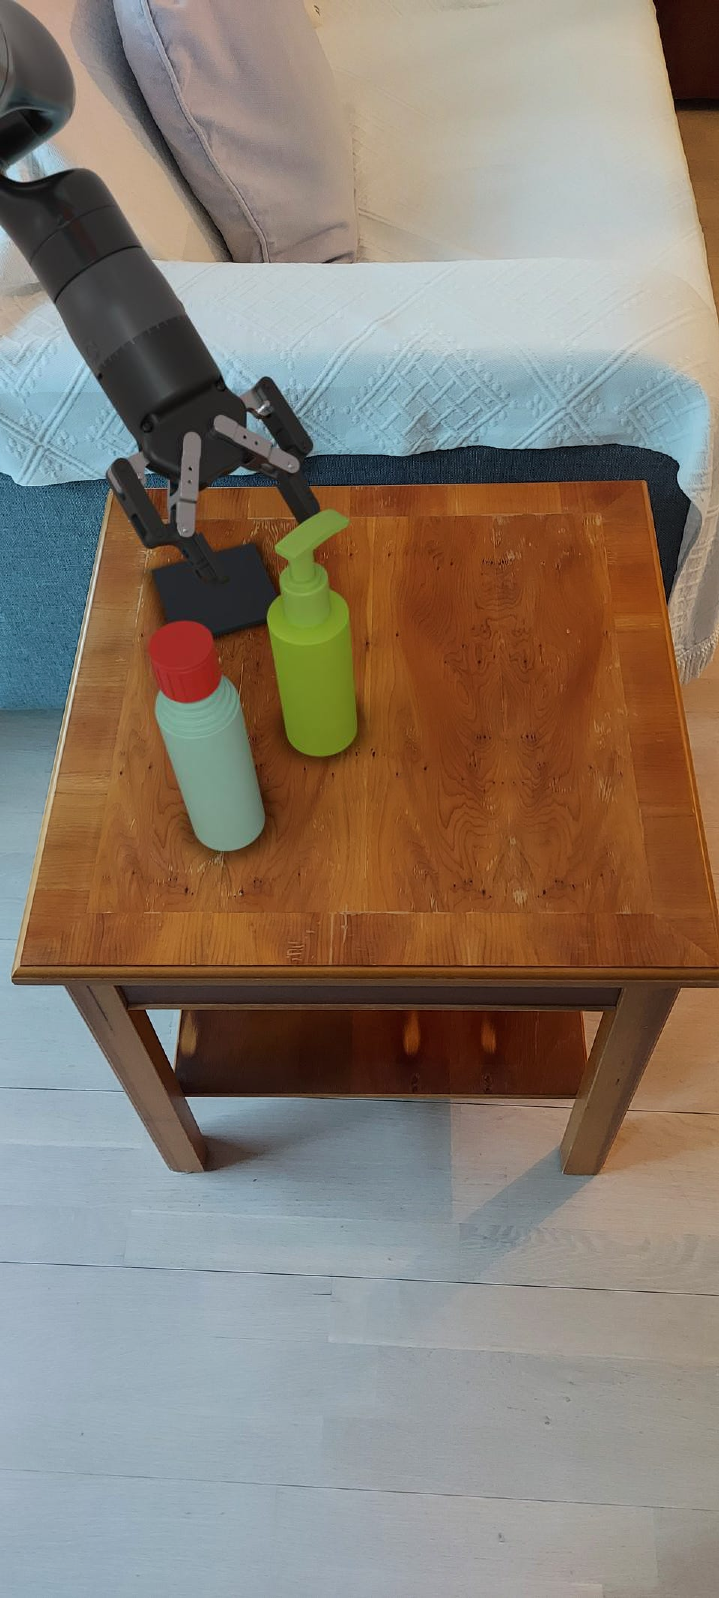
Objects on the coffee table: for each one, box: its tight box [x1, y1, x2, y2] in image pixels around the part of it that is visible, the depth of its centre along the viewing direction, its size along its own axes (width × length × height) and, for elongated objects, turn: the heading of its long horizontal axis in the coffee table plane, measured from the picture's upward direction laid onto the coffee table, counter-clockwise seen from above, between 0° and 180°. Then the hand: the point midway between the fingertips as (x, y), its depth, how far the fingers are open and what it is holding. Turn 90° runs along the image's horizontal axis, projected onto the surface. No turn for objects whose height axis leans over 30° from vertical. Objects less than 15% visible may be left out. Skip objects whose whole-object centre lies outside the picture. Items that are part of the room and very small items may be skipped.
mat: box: [150, 542, 279, 638], centre depth 91 cm, size 10×10×1 cm
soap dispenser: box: [266, 508, 358, 757], centre depth 74 cm, size 6×7×20 cm
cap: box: [147, 621, 223, 703], centre depth 62 cm, size 4×4×3 cm
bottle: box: [154, 674, 266, 852], centre depth 70 cm, size 6×6×19 cm
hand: (267, 554), depth 72 cm, fingers open, 8 cm apart
